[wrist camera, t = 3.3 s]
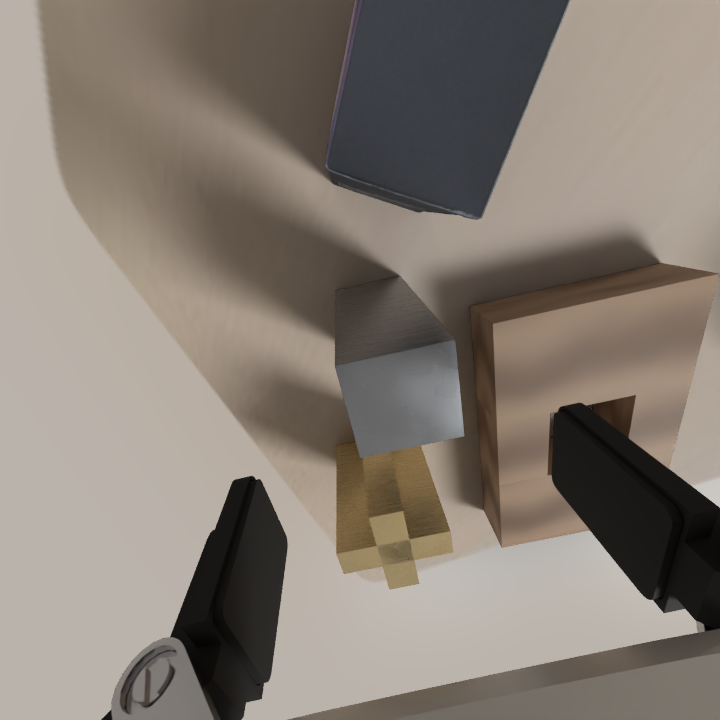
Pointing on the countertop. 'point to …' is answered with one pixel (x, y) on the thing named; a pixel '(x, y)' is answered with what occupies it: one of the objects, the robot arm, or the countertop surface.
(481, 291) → the countertop surface
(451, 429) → the square bit
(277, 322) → the countertop surface
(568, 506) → the socket block
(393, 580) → the cross bit
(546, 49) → the small box
